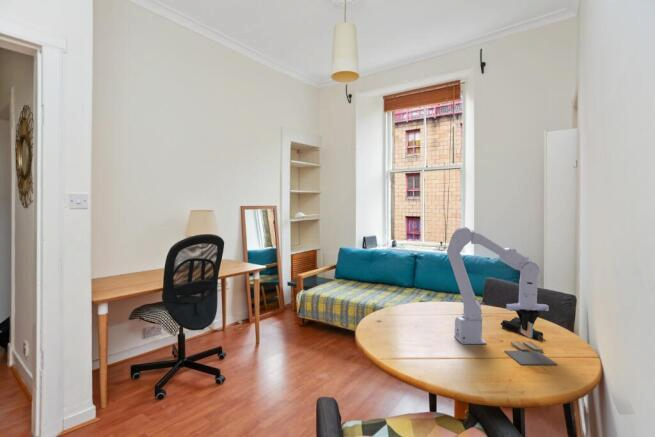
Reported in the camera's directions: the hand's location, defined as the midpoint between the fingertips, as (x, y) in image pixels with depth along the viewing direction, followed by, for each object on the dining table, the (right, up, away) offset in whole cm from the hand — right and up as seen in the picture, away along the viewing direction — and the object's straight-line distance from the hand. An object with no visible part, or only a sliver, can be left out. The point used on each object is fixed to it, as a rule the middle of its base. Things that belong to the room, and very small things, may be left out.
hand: (526, 329), depth 123 cm
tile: (0, -2, 0) cm, 2 cm away
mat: (-4, -7, -8) cm, 11 cm away
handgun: (+10, -7, +18) cm, 21 cm away
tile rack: (0, -7, 0) cm, 7 cm away
